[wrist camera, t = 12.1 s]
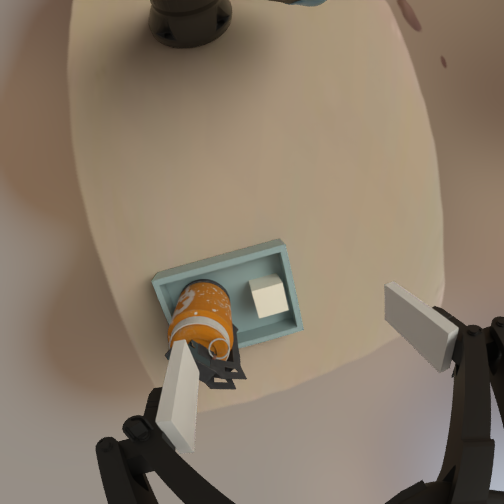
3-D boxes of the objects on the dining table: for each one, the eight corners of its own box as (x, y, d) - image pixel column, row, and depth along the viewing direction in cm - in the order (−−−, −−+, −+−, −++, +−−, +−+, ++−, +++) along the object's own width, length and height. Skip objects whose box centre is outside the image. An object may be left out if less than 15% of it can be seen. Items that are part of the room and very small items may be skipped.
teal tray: (157, 272, 46) (151, 281, 42) (279, 238, 47) (285, 244, 43) (187, 347, 50) (185, 360, 46) (297, 318, 51) (303, 329, 47)
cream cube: (248, 280, 47) (251, 291, 43) (276, 272, 48) (282, 282, 43) (255, 305, 49) (259, 318, 44) (282, 298, 49) (288, 310, 44)
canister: (199, 267, 46) (184, 324, 27) (249, 303, 48) (267, 374, 29) (170, 305, 47) (144, 375, 28) (219, 338, 50) (220, 415, 30)
